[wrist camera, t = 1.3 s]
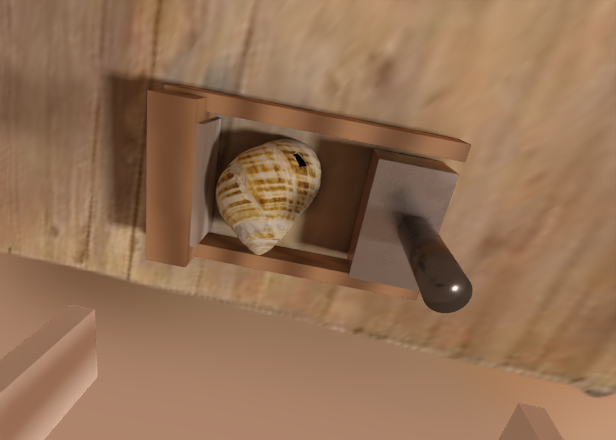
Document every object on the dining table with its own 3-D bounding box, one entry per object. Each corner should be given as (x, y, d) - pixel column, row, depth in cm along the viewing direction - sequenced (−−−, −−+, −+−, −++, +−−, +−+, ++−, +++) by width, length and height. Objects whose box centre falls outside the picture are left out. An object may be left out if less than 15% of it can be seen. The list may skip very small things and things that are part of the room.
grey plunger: (347, 254, 40) (352, 348, 26) (373, 148, 35) (398, 193, 21) (408, 266, 40) (447, 367, 26) (443, 162, 35) (512, 215, 21)
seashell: (325, 126, 34) (323, 200, 28) (318, 196, 42) (316, 268, 35) (220, 119, 34) (194, 192, 28) (232, 191, 42) (213, 262, 35)
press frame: (171, 238, 41) (145, 263, 35) (177, 84, 35) (147, 84, 29) (410, 285, 41) (422, 317, 35) (460, 139, 35) (484, 151, 29)
